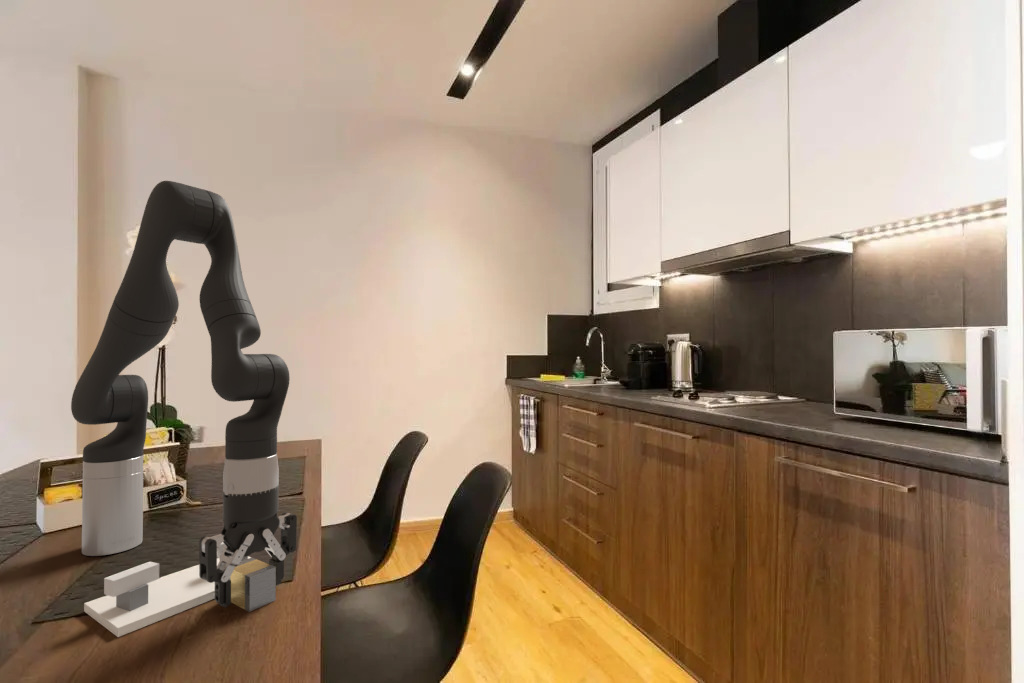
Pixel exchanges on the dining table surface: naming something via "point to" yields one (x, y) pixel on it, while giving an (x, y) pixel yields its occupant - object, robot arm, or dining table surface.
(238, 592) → the block
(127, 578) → the stand
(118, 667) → the dining table surface
